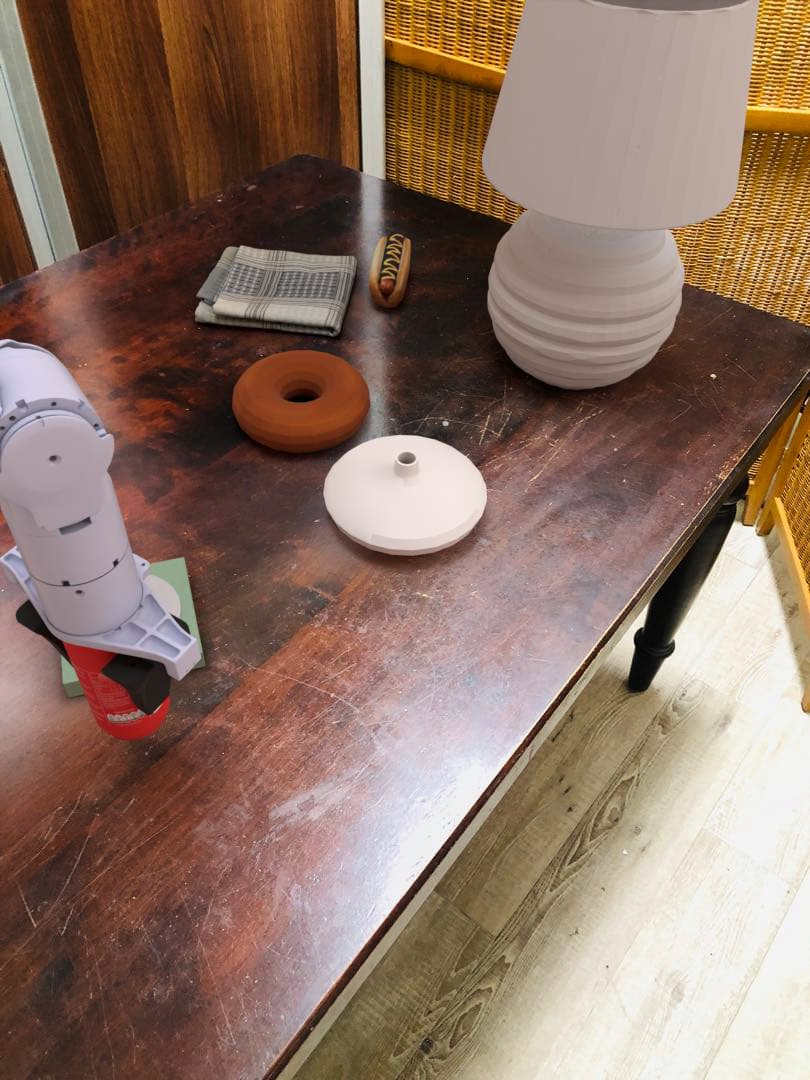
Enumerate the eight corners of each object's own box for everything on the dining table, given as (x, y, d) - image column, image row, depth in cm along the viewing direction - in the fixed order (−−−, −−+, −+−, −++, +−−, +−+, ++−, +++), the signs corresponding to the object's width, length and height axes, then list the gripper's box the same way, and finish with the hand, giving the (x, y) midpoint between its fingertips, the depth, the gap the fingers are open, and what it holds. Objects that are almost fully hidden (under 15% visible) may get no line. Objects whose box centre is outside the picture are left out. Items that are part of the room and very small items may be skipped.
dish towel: (360, 266, 119) (360, 244, 116) (339, 341, 106) (339, 318, 104) (225, 254, 119) (222, 232, 117) (189, 328, 107) (185, 305, 105)
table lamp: (711, 353, 107) (839, -26, 78) (614, 461, 93) (727, 47, 64) (533, 283, 117) (587, -76, 88) (421, 370, 103) (442, -23, 74)
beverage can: (87, 742, 61) (40, 638, 52) (110, 680, 64) (70, 572, 56) (161, 748, 61) (126, 645, 52) (180, 686, 64) (151, 579, 56)
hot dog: (363, 314, 111) (363, 278, 107) (375, 261, 120) (376, 226, 116) (403, 317, 110) (404, 282, 107) (412, 264, 119) (413, 229, 116)
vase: (305, 477, 90) (301, 423, 85) (447, 445, 94) (452, 392, 89) (353, 589, 80) (352, 536, 75) (511, 548, 84) (520, 494, 79)
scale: (68, 698, 71) (61, 681, 69) (62, 596, 78) (55, 579, 76) (205, 666, 73) (201, 649, 72) (187, 571, 81) (183, 553, 79)
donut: (271, 481, 89) (267, 443, 86) (212, 402, 98) (206, 364, 94) (396, 434, 95) (397, 397, 91) (330, 363, 103) (328, 326, 100)
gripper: (222, 556, 50) (245, 690, 60) (39, 462, 55) (89, 600, 65) (134, 640, 46) (175, 770, 56) (-55, 530, 51) (14, 667, 60)
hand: (124, 683), depth 60 cm, fingers closed on beverage can, 5 cm apart
